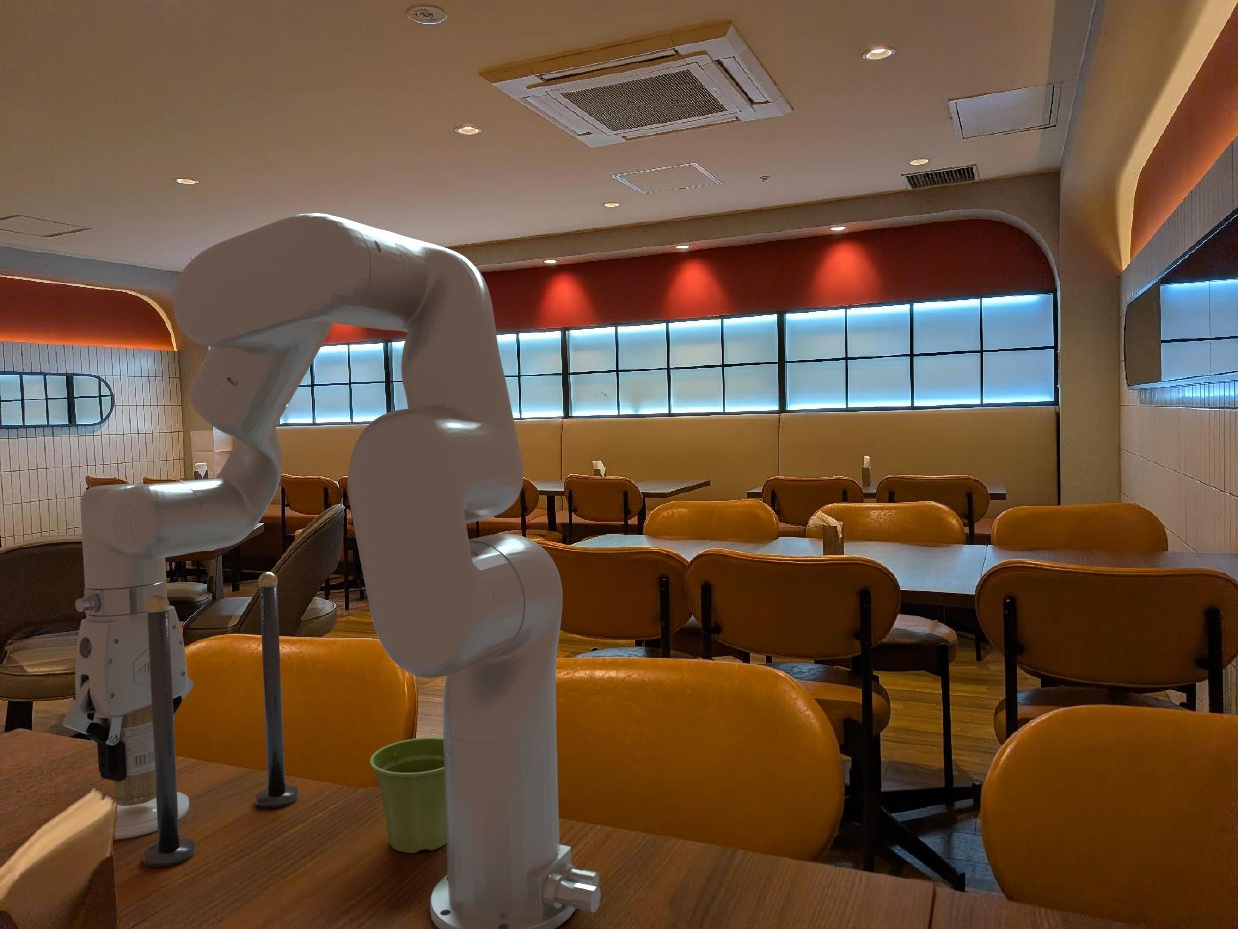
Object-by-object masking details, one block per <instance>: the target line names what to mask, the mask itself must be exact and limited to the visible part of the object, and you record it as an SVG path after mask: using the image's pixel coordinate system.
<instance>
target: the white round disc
mask: <svg viewBox="0 0 1238 929" xmlns="http://www.w3.org/2000/svg"><path fill="white" fill-rule="evenodd" d="M177 800H178V821H180V820H182V819H183V818H184V817H185V816H186V815H187V814H188V813H189V811H190V798H189V797H188V796H187V795H186V794H184V793H182V792H179V791H177ZM154 832H158V825H157V804H156V798H155V799H153V800H151V801H148V802H146V803H143V804H139V805H133V806H120V805H117V822H116V830H115V839H114V840H123V839H124V838H125V839H131V838H136V837H140V836H144V835H147V834H151V833H154Z"/></svg>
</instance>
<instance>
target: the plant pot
mask: <svg viewBox="0 0 1238 929" xmlns="http://www.w3.org/2000/svg"><path fill="white" fill-rule="evenodd" d="M369 765H370V767H371V769H372V770H373V771H374V773H375V777H376V778H375V779H376V781H377V782H378V783H379V788H380V792H381V793H380V794H381V800H382V806H383V811H384V818H385V823H386V831H387V836H388V840H389V844H390V846H391V848H392V849H394V850H396V851H398V852H402V853H405V854H416V853H418V852H419V851H423V850H428V851H434V850H437V849H439V848H441V847H443V846H445V845H447V833H446V803H445V774H444V745H443V737H418V738H417V737H416V738H411V739H405V740H401V741H397V742H394V743H391V744H387V745H385V746H383V747H381V748H379V749H378V750H376V751H375V752H374V753H373V754H372V755H371V757H370V759H369Z"/></svg>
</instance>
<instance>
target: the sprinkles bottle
mask: <svg viewBox="0 0 1238 929" xmlns="http://www.w3.org/2000/svg"><path fill="white" fill-rule="evenodd" d="M119 742H124V744H125V753H126V772H127V777H126V778H125V780H123V781H120V782H118V781H113V789H114V790H113V791H114V793H113V794H114V796H113V799H115V801H116V802H117V805H120V806H133V805H139V804H143V803H146V802H148V801H151V800H153V799H155V798H156V783H155V762H154V741H153V721H152V706H150V707H147V708H144V709H141V710H138V711H135V712H132V713H129V714H126V715H123V718H122V724H121V731H120V737H119Z"/></svg>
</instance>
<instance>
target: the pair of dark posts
mask: <svg viewBox="0 0 1238 929" xmlns="http://www.w3.org/2000/svg"><path fill="white" fill-rule="evenodd" d="M257 582H258V586H259V588H258V589H259V606H260V607H259V608H260V609H259V610H260V631H261V632H260V634H261V635H260V637H261V652H262V653H261V656H262V658H261V659H262V677H263V678H262V680H263V699H264V700H263V701H264V702H263V703H264V705H263V707H264V725H265V726H264V727H265V752H266V775H267V776H266V777H267V788H264V789H262V790H260V791H259V792H257V793H256V794H255V805H256V807H257V808H259V809H263V810H265V809H267V810H271V809H280V808H283V807H286V806H289V805H292V804H293V803H295V802H296V801H297V800H298V799H299V789H298V787H296V786H295V785H290V784H286V770H285V767H286V766H285V747H284V743H285V742H284V723H283V722H284V721H283V719H284V718H283V697H282V678H281V677H282V676H281V670H282V669H281V650H280V626H279V625H280V622H279V605H278V604H279V600H278V582H279V580H278V576H277V574H275V573H274V572H271V571H265V572H263V573H262V574H260V575H259V577H258V581H257ZM169 606H170V601H169V599H168V597H167V598H166V597H165V596H163V595H154V596H152V597H150V598H149V599H148V601H147V603H146V610H147V611H148V612H147V616H148V637H149V658H150V679H151V700H152V721H153V741H154V762H155V783H156V804H157V825H158V830H157V841H158V842H156V843H154V844H152V845H150V846H149V847H148V848H146V849H145V850H144V852H143V854H142V855H143V865H144V866H145V867H147V868H150V869H163V868H169V867H174V866H177V865H180V864H182V863H185V862H187V861H188V860H189V859H191V858H192V857H193V856H194V855H195V854H196V852H195V851H196V848H195V846H196V844H195V843H196V842H195V841H194V840H193V839H192V838H188V837H180V827H179V825H180V824H179V820H178V800H177V792H178V782H177V781H178V779H177V762H176V760H177V759H176V744H175V743H176V740H175V738H176V737H175V714H174V715H173V694H172V673H171V651H170V630H169V610H168V609H169Z"/></svg>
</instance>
